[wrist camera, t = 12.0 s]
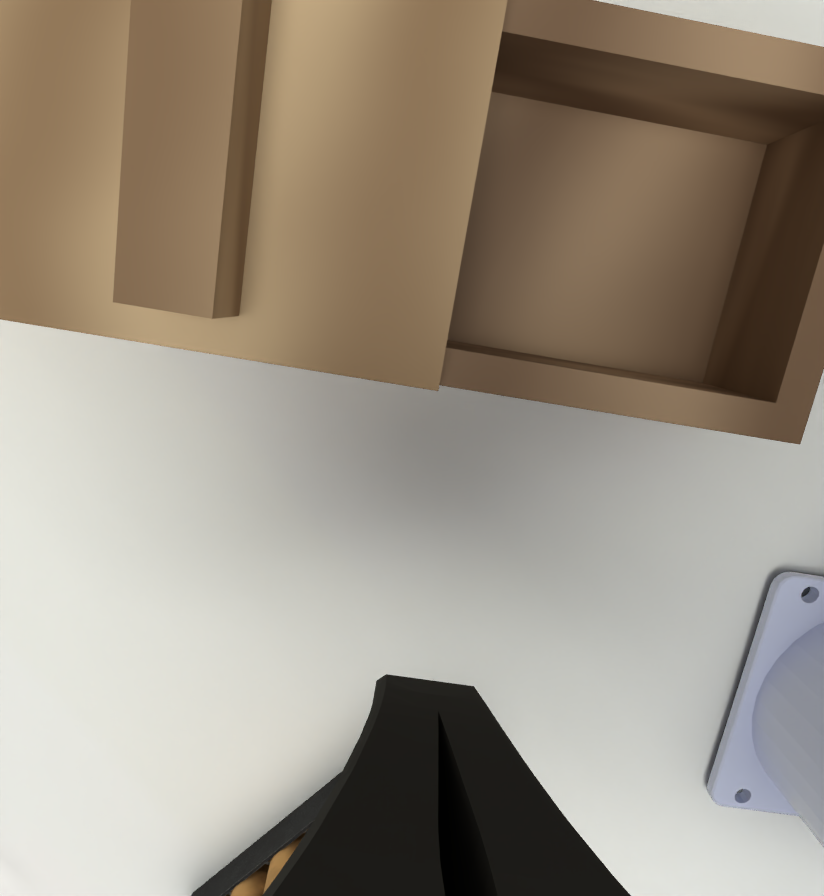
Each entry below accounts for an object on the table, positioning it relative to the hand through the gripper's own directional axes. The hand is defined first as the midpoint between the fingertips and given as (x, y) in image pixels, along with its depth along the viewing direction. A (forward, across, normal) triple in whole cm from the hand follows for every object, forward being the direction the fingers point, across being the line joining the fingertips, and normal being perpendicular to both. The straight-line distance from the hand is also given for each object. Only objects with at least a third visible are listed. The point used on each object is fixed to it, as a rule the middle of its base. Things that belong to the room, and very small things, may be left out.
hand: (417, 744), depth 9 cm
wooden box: (+10, -1, -8) cm, 13 cm away
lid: (+6, +7, -8) cm, 12 cm away
